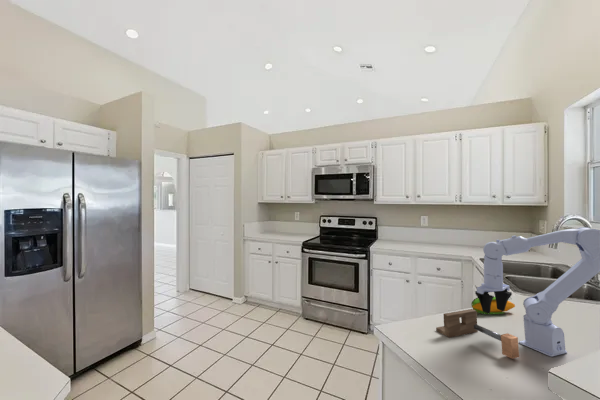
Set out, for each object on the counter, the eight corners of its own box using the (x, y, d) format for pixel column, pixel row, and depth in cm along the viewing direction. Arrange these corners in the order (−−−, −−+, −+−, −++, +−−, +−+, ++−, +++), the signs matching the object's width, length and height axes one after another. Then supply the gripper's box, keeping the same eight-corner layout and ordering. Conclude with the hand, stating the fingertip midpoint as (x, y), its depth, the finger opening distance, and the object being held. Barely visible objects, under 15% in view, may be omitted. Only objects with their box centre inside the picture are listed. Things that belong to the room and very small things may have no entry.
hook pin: (519, 357, 80) (517, 337, 80) (512, 358, 79) (510, 339, 79) (479, 338, 92) (478, 321, 92) (473, 339, 91) (472, 322, 92)
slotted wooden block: (477, 331, 99) (476, 310, 99) (449, 337, 95) (447, 315, 95) (463, 325, 104) (462, 305, 105) (436, 330, 100) (435, 309, 101)
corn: (466, 294, 120) (506, 292, 121) (466, 310, 120) (506, 308, 121) (478, 300, 112) (520, 298, 113) (478, 318, 112) (521, 315, 114)
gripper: (495, 270, 101) (496, 305, 101) (468, 273, 96) (468, 309, 96) (515, 275, 94) (516, 312, 94) (487, 278, 90) (487, 316, 89)
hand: (493, 311), depth 95 cm, fingers open, 7 cm apart
